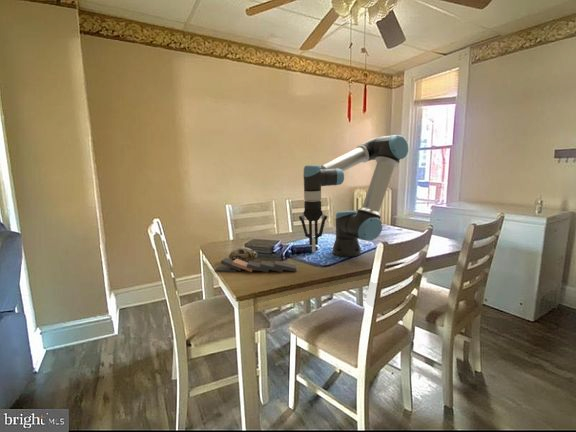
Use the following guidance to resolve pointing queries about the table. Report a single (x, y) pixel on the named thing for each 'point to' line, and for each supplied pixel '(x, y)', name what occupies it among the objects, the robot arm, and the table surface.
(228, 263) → the domino
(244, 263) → the domino
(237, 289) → the table surface
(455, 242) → the table surface
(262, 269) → the domino
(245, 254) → the skull
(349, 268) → the table surface
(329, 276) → the table surface
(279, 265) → the domino
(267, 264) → the domino
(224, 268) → the domino
